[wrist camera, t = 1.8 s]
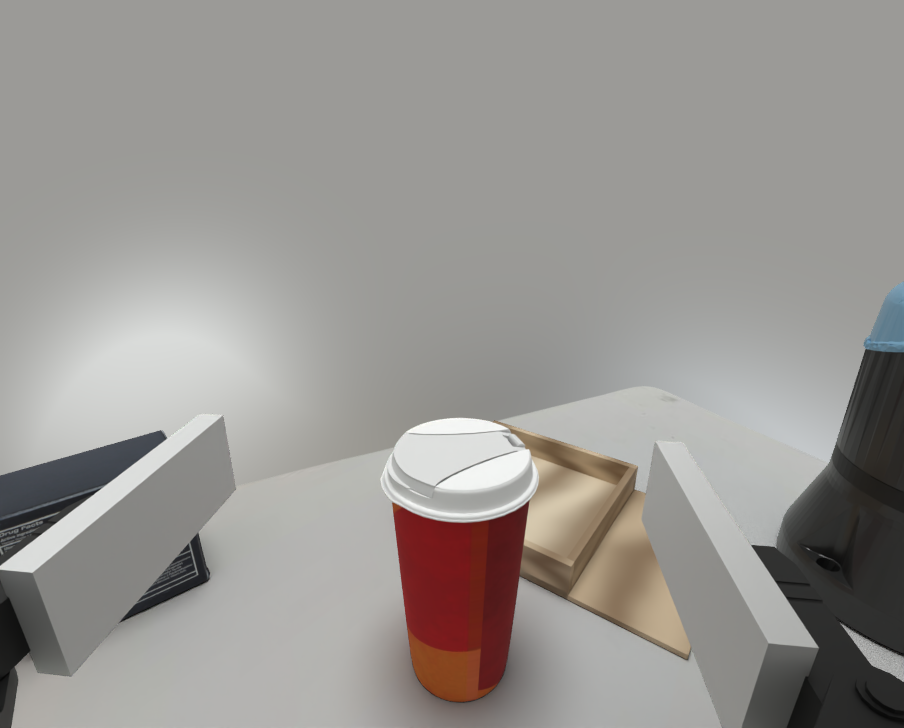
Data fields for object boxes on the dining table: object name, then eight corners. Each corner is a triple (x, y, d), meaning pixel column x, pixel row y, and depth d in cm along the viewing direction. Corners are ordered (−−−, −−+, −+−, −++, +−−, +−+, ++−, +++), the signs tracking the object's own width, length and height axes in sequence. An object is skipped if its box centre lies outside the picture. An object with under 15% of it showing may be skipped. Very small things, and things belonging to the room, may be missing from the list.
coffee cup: (492, 590, 36) (499, 405, 31) (549, 694, 29) (572, 475, 23) (379, 622, 33) (365, 426, 28) (410, 746, 26) (400, 513, 21)
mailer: (727, 525, 43) (734, 496, 42) (687, 659, 31) (695, 624, 30) (493, 444, 55) (494, 420, 54) (402, 516, 44) (401, 488, 43)
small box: (190, 535, 42) (164, 424, 38) (212, 581, 37) (185, 460, 33) (29, 599, 35) (-21, 475, 31) (32, 664, 31) (-27, 527, 27)
